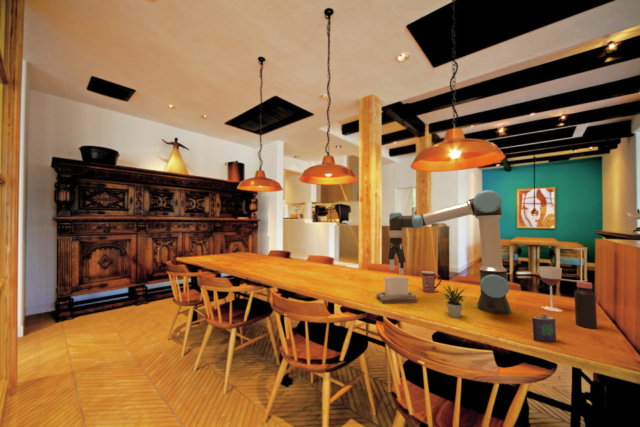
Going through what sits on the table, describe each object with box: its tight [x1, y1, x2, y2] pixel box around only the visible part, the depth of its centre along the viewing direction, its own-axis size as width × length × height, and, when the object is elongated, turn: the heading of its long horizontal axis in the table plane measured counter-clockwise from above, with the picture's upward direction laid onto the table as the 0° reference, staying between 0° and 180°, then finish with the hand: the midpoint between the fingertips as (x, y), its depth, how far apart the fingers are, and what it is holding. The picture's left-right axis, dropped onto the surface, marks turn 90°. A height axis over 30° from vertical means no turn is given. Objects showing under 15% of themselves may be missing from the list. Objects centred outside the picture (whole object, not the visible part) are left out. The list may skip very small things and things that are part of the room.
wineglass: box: [538, 265, 563, 313], centre depth 139 cm, size 9×10×23 cm
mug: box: [421, 270, 442, 294], centre depth 173 cm, size 13×9×14 cm
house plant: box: [439, 283, 468, 318], centre depth 128 cm, size 14×14×16 cm
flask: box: [531, 312, 557, 343], centre depth 100 cm, size 9×3×11 cm, turn 95°
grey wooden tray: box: [376, 291, 418, 305], centre depth 152 cm, size 12×21×4 cm, turn 96°
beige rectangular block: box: [384, 276, 409, 296], centre depth 153 cm, size 13×5×12 cm, turn 96°
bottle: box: [573, 281, 598, 330], centre depth 115 cm, size 7×7×20 cm
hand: (396, 271), depth 153 cm, fingers open, 13 cm apart
